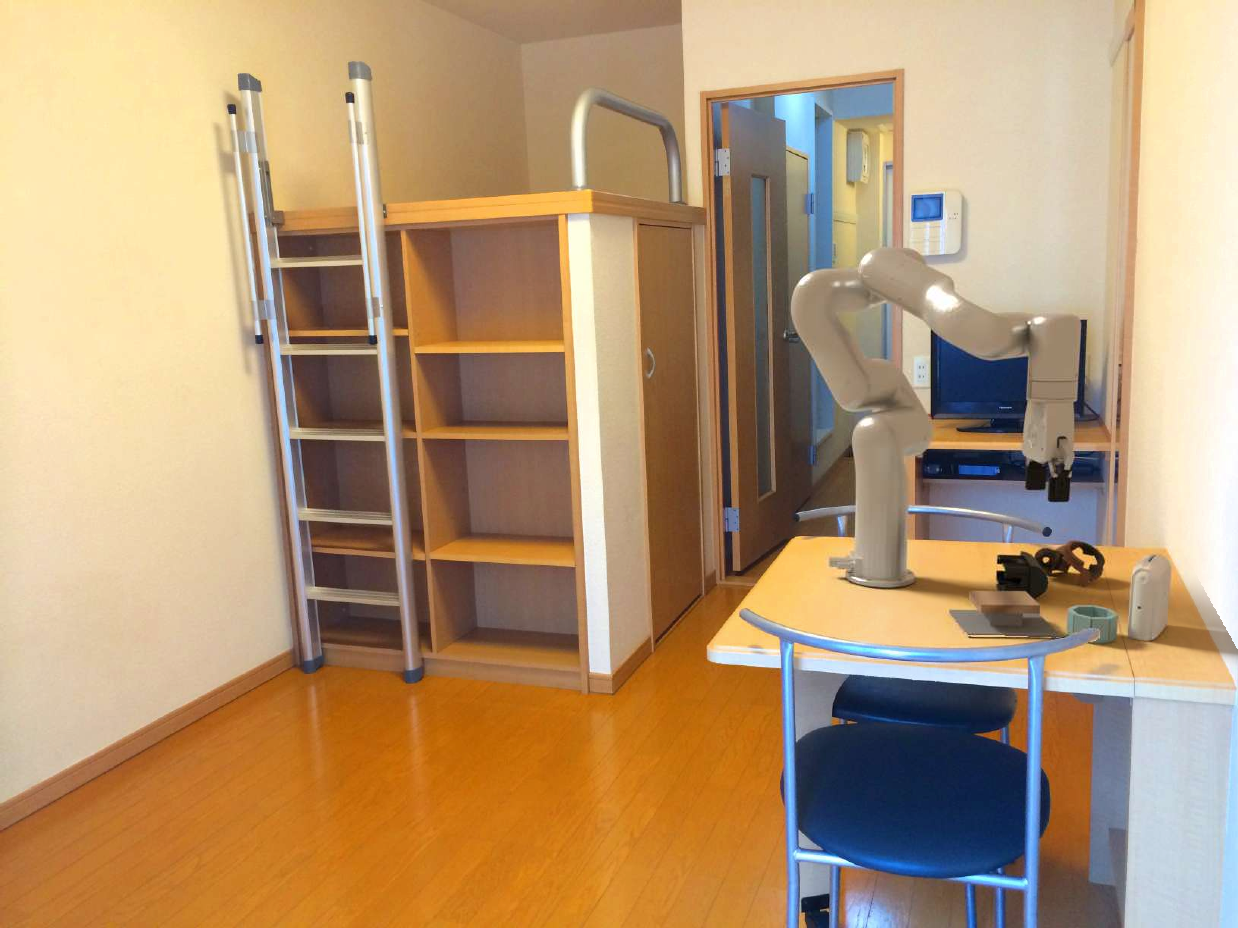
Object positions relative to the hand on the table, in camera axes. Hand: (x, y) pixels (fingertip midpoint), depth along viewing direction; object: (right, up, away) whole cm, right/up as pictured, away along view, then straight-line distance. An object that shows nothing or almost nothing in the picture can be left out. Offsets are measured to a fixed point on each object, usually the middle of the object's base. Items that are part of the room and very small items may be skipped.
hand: (1046, 495), depth 166 cm
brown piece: (+13, -17, +22) cm, 31 cm away
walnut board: (-8, -18, -3) cm, 20 cm away
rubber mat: (-8, -21, -2) cm, 22 cm away
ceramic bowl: (+3, -22, -8) cm, 23 cm away
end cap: (+1, -18, +14) cm, 23 cm away
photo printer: (+13, -21, -6) cm, 26 cm away
